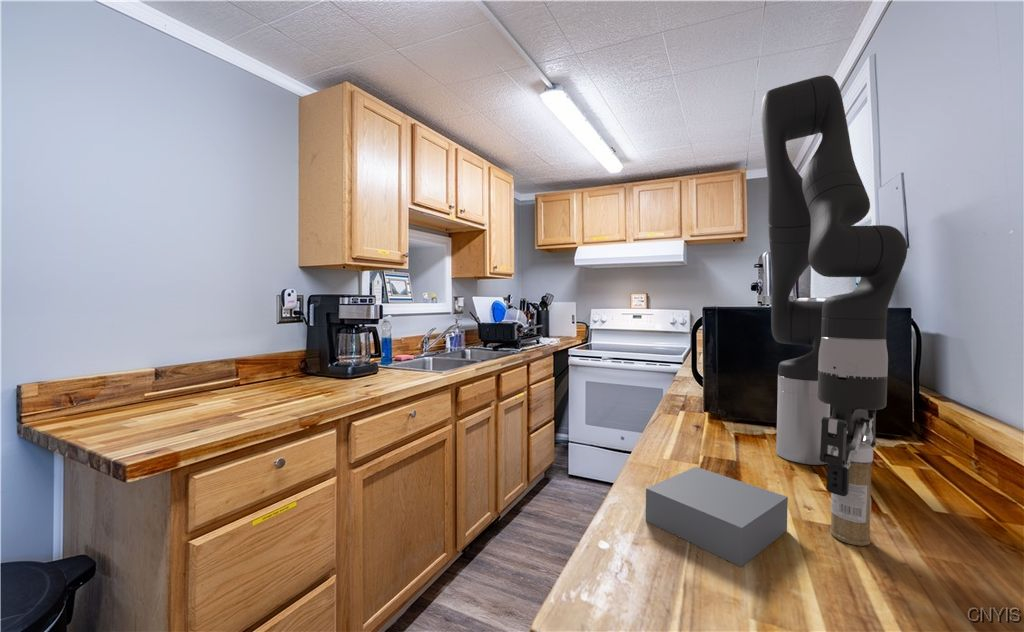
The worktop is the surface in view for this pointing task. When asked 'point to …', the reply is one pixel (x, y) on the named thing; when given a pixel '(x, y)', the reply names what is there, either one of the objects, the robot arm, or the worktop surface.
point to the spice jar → (854, 501)
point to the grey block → (718, 513)
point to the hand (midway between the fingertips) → (848, 485)
